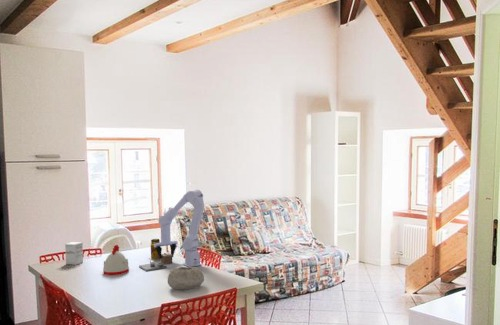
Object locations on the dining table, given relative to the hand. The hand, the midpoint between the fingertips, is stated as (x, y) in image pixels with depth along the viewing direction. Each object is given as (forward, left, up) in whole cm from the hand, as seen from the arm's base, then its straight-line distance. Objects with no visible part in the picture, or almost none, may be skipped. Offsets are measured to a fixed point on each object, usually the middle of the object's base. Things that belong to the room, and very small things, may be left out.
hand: (166, 257), depth 271 cm
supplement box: (+35, +46, -3) cm, 58 cm away
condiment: (+16, 0, -3) cm, 16 cm away
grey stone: (-55, +12, -3) cm, 56 cm away
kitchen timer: (-2, +31, -3) cm, 31 cm away
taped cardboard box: (0, 0, -3) cm, 3 cm away
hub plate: (-6, +11, -3) cm, 13 cm away
